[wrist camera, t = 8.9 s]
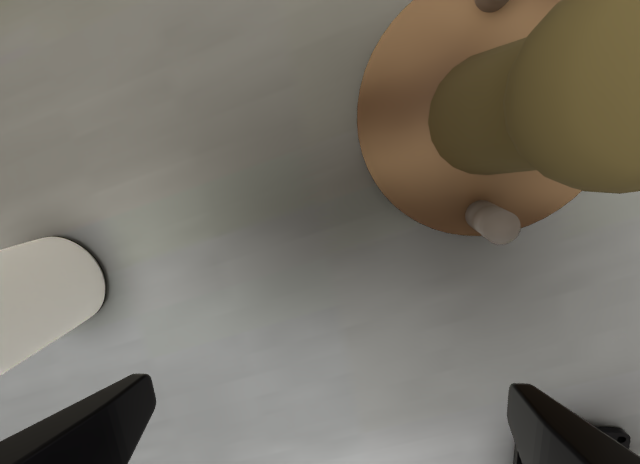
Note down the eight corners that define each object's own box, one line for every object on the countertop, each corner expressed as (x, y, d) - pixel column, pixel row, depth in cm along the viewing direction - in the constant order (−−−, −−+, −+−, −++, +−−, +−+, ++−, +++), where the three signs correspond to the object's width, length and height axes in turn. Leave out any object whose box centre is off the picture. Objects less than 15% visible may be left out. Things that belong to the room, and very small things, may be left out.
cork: (404, 137, 18) (462, 131, 7) (476, 24, 16) (686, -196, 6) (500, 196, 18) (692, 273, 8) (582, 90, 16) (980, -4, 6)
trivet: (596, 227, 19) (656, 249, 15) (361, 234, 21) (361, 256, 17) (634, -47, 16) (723, -108, 12) (352, -9, 17) (348, -52, 14)
